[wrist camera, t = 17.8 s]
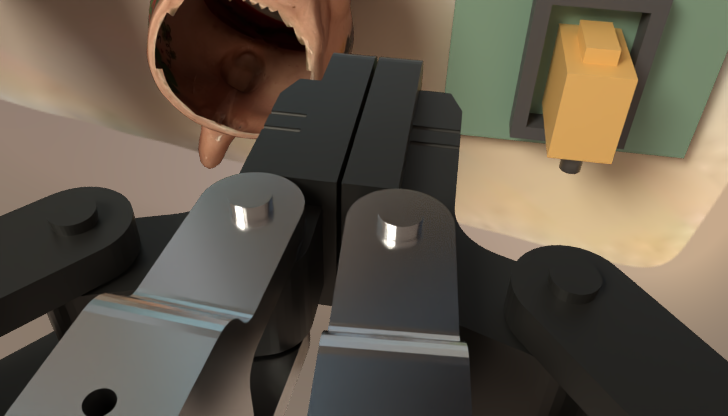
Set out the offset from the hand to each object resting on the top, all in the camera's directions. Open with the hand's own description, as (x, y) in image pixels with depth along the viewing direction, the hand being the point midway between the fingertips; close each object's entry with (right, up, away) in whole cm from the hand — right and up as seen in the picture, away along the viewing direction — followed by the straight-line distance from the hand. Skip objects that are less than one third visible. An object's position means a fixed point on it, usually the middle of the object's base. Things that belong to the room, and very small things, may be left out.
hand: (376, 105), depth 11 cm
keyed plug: (+15, +8, +34) cm, 38 cm away
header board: (+15, +9, +35) cm, 39 cm away
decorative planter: (-6, +14, +36) cm, 39 cm away
